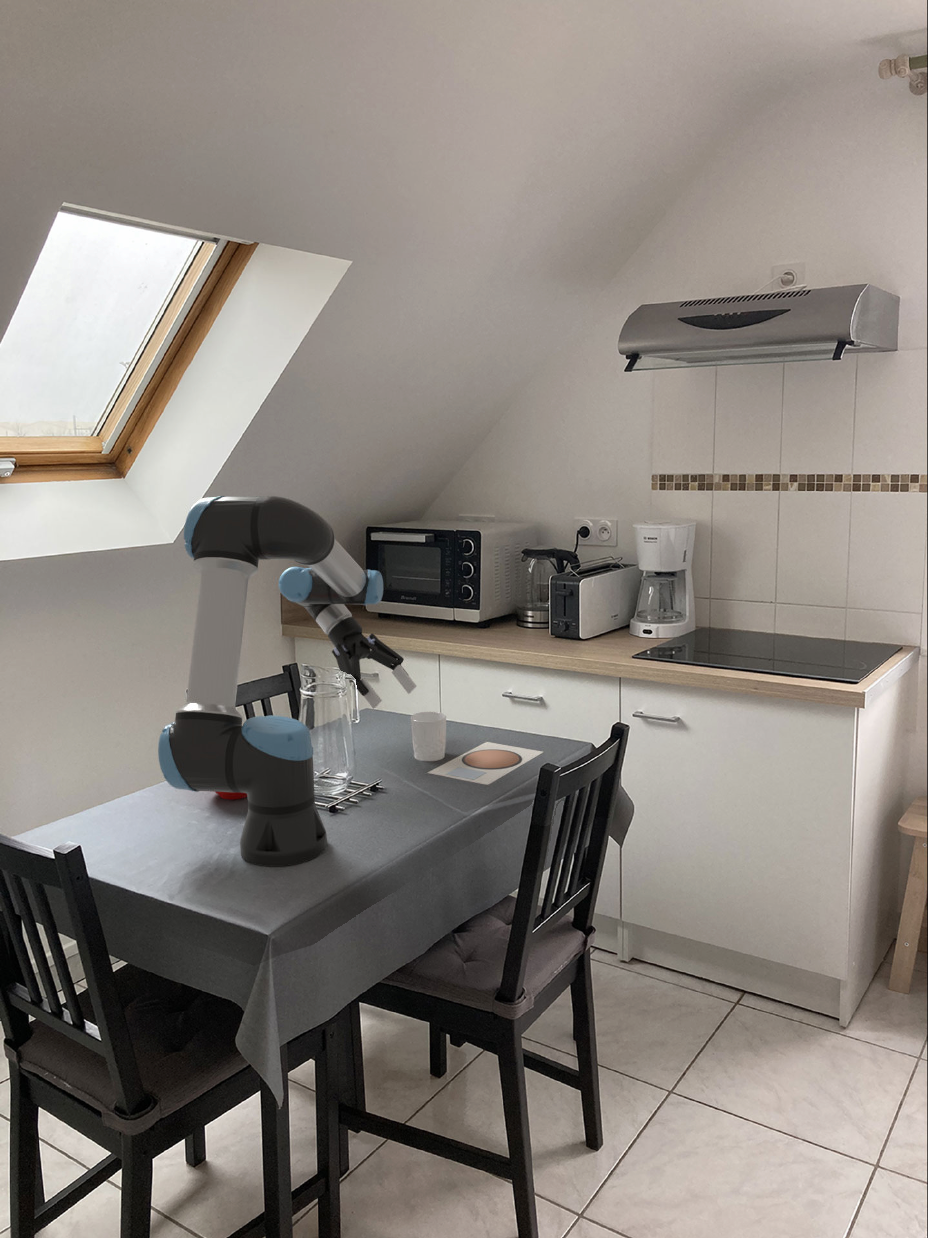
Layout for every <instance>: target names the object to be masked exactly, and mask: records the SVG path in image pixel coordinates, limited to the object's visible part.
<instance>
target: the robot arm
mask: <svg viewBox="0 0 928 1238" xmlns="http://www.w3.org/2000/svg"><path fill="white" fill-rule="evenodd" d="M183 539H184V541H185V542H184V548H185V551H186V553H187V555H188V556H189V557H190V558H192V559H193V567H194V568H195V569H196V570H197V571H198V572H199V575H200V577H199V578H200V579H199V586H198V597H197V603H196V604H197V605H196V612H195V613H196V614H195V622H194V629H193V630H194V631H193V639H192V645H191V646H192V649H191V657H190V663H189V664H190V665H189V673H188V681H187V692H186V699H185V700H186V701H185V704H184V705H183V706H181V707H180V708H179V709H178V710H176V711H175V718H174V722H171V723H168V724H166V725H165V726H164V728H163V729H162V731H161V732H162V733H160V736H159V738H158V748H157V752H158V753H157V755H158V763H159V766H160V771H161V773H162V775H163V778H164V779H165V781H166V783H168V784H169V786H171V787H172V788H175V789H177V790H184V791H191V792H196V793H198V792H212V793H213V792H214V793H216V792H236V793H237V792H238V793H247V797H246V798H247V814H246V817H245V821H244V825H243V827H242V831H241V837H240V840H239V841H240V842H239V843H240V846H239V847H240V855H241V857H242V858H243V859H244V860H245V861H247V862H249V863H251V864H254V865H258V866H264V867H285V866H293V865H298V864H302V863H305V862H308V861H310V860H313V859H315V858H317V857H319V856H320V855H322V854H323V853H324V852H325V851H326V849H327V847H328V837H327V836H328V835H327V830H326V828H325V826H324V823H323V820H322V818H321V816H320V813H319V811H318V808H317V805H316V796H315V778H314V777H315V775H314V772H315V771H314V757H313V755H314V747H313V745H312V736H311V735H312V734H311V731H310V729H309V727H308V726H307V725H306V724H304V723H303V722H302V721H300V720H297V719H296V718H293V717H292V718H291V717H288V716H282V715H271V714H270V715H266V716H264V715H258V716H253V717H250V718H248V719H246V720H245V721H244V722H243V718H244V717H243V715H242V714H241V713H240V712H239V711H238V710H237V708H236V702H237V701H236V700H237V692H238V683H239V682H238V681H239V673H240V662H241V661H240V660H241V652H242V651H241V650H242V643H243V633H244V624H245V614H246V603H247V594H248V585H249V580H250V579H251V578H253V576H254V575H256V574H257V573H258V569H259V561H260V560H261V561H262V560H290V561H291V560H292V561H294V562H296V563H297V564H299V565H301V566H308V567H309V568H308V567H307V568H304V567H299V566H291V567H289V568H287V569H285V570H284V571H283V572H282V574H281V575H280V577H279V579H278V589H279V591H280V593H281V595H282V596H283V597H284V598H286V599H287V600H288V601H289V602H292V603H296V604H298V605H299V606H300V607H303V608H305V610H306V611H307V612H308V614H309V615H310V616H311V617H312V619H313V620H314V621H315V623H317V624H318V626H319V628H321V630H322V631H323V632H324V634H325V635H327V638H328V639H329V641H330V642H331V643H332V645H333V646H334V648H333V650H331V654H333V656H334V658H335V659H336V662H337V666H338V668H339V671H340V670H341V671H343V672H346V673H347V674H351V675H352V676H353V677H354V678H355V679H356V685H357V688H356V690H357V691H358V692H359V694H360V695H361V696H363V697H364V699H365V700H366V701H367V703H368V704H369V705H370V707H372V709H376V708H377V707H378V706H379V705H380V704H381V702H383V699H381V697H380V696H379V695H378V693H377V692H376V690H375V689H374V688H373V687H372V685H371V684H370V683H369V681H367V679H366V677H362V675H361V662H360V660H362V659H363V660H364V659H367V660H373V661H375V662H376V663H379V664H381V665H383V666H384V667H386V668H388V669H389V670H392V671H391V673H392V675H393V676H394V678H395V679H396V680H397V681H398V683H399V684H400V686H402V688H403V689H404V691H406V693H407V694H408V695H409V694H411V693H412V692H413V691H414V690H415V689H416V688H417V684H416V683H415V682H414V681H413V680H412V678H411V677H410V675H409V674H408V672H407V671H406V670H405V668H404V667H403V666H402V664H403V662H404V661H405V659H404V657H403V656H401V654H399V653H398V652H396V651H395V650H393V649H392V648H391V647H389V646H388V645H387V644H385V643H384V642H382V641H381V640H380V639H379V638H378V637H377V636H376V634H374V633H370V634H369V635H368V636H367V637H366V636H365V635H364V634H363V627H362V625H361V624H360V623H359V622H358V620H357V619H356V618H355V617H353V616H352V615H353V614H352V613H351V611H350V610H349V609H348V608H347V606H346V605H362V606H367V605H377V604H379V603H380V602H381V601H382V598H383V595H384V580H383V576H382V573H381V572H380V571H378V570H375V569H374V570H373V569H372V570H371V569H364V570H363V568H362V567H361V566H360V565H359V564H358V563H357V562H356V561H355V559H354V558H353V557H352V556H351V555H350V553H348V552H347V550H346V549H345V548H344V547H343V546H342V545H341V544H340V542H338V540H337V539H336V537H335V533H334V529H333V528H332V526H331V525H330V523H328V521H326V519H325V518H323V517H322V516H321V515H320V514H319V513H317V512H315V510H312V509H311V508H310V507H307V506H306V505H304V504H302V503H300V502H297V501H295V500H292V499H290V498H286V497H282V496H275V495H271V496H269V495H267V496H225V495H219V496H214V497H213V496H212V497H204V498H201V499H199V500H197V502H196V503H194V504H193V505H192V507H191V508H190V510H189V511H188V514H187V515H186V519H185V522H184V528H183Z"/></svg>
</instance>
